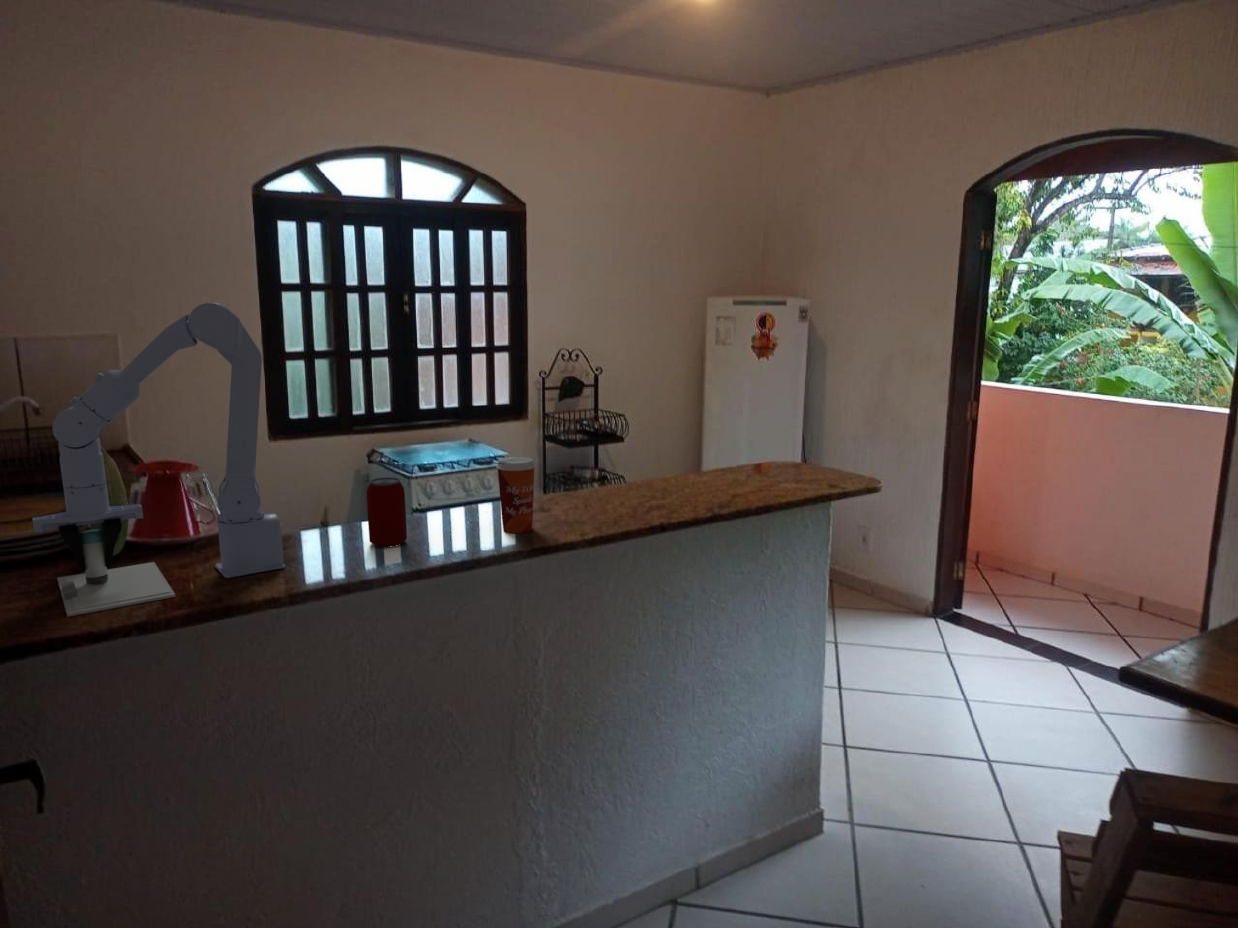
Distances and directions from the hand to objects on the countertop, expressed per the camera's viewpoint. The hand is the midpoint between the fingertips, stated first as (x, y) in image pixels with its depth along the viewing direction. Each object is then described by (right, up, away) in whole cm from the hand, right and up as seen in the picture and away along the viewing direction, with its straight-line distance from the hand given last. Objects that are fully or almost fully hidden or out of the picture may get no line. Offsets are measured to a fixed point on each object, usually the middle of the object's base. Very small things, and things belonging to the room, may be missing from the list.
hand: (95, 568), depth 135 cm
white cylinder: (0, -2, 0) cm, 2 cm away
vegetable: (-6, 0, +16) cm, 17 cm away
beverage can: (+40, +1, +24) cm, 46 cm away
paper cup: (+63, +3, +33) cm, 71 cm away
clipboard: (+3, -3, 0) cm, 4 cm away
